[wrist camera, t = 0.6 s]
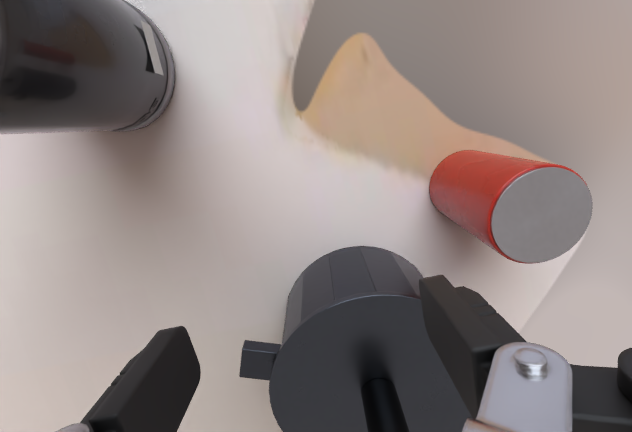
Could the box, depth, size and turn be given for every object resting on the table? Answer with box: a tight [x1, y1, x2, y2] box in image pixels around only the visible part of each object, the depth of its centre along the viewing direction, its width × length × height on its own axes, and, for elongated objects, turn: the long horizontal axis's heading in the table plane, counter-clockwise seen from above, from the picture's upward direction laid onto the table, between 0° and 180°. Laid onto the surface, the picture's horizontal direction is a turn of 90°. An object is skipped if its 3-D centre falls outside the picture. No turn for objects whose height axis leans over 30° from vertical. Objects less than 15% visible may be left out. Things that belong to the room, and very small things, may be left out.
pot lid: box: [269, 291, 472, 432], centre depth 20 cm, size 15×15×6 cm
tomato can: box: [430, 150, 592, 263], centre depth 23 cm, size 6×6×10 cm
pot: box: [240, 246, 423, 380], centre depth 27 cm, size 14×19×9 cm
